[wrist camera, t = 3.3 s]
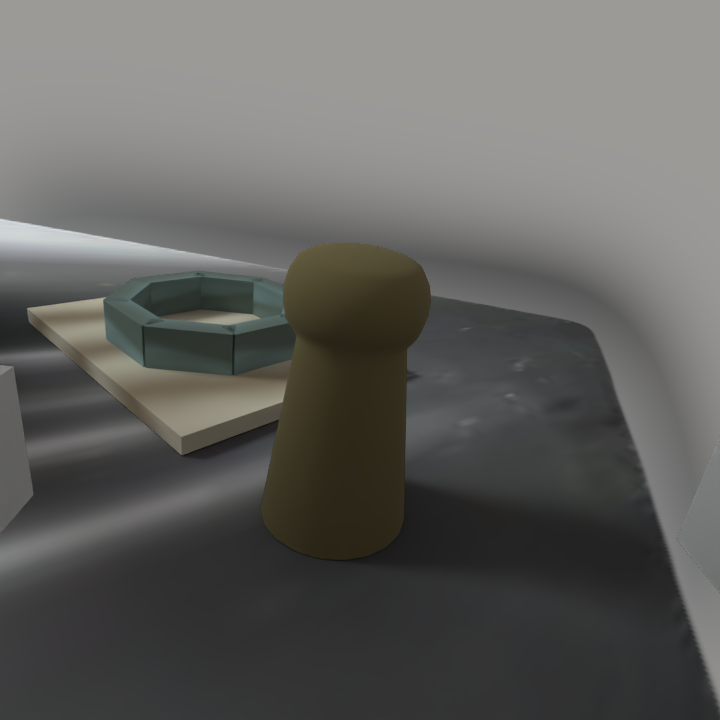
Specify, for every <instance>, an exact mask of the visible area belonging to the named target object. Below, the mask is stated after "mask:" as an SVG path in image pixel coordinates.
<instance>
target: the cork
mask: <svg viewBox="0 0 720 720" xmlns="http://www.w3.org/2000/svg"><path fill="white" fill-rule="evenodd" d="M430 304H431V294H430V285H429V283H428V280H427V278H426V275H425V273H424V270H423V268H422V267H421V266H420V265H419V264H418V263H417V262H416V261H414V260H413V259H412V258H410V257H408V256H406V255H404V254H401V253H398V252H395V251H393V250H389V249H387V248H383V247H379V246H374V245H368V244H359V243H331V244H322V245H316V246H313V247H311V248H309V249H307V250H305V251H303V252H301V253H299V254H298V256H297V257H296V258H295V260H294V261H293V263H292V264H291V265H290V268H289V270H288V273H287V276H286V279H285V283H284V286H283V307H284V311H285V316H286V320H287V321H288V323H289V325H290V326H291V328H292V330H293V331H294V333H295V334H296V336H297V337H296V342H295V346H294V351H293V356H292V361H291V365H290V370H289V375H288V380H287V384H286V389H285V394H284V399H283V403H282V408H281V413H280V418H279V422H278V427H277V432H276V437H275V441H274V446H273V451H272V456H271V461H270V465H269V470H268V475H267V480H266V484H265V489H264V494H263V499H262V503H261V508H260V510H261V514H262V518H263V521H264V525H265V526H266V527H267V528H268V530H269V531H270V532H271V533H272V535H273V536H274V537H275V538H276V539H277V540H278V541H280V542H281V543H283V544H284V545H286V546H288V547H289V548H291V549H292V550H294V551H296V552H299V553H302V554H306V555H309V556H312V557H315V558H319V559H332V560H348V559H354V558H360V557H366V556H369V555H371V554H373V553H375V552H377V551H380V550H382V549H384V548H386V547H387V546H388V545H389V544H390V543H391V542H392V541H393V540H394V539H395V538H396V537H397V536H398V535H399V533H400V530H401V527H402V525H403V522H404V494H405V439H406V385H407V348H409V347H410V346H411V345H412V344H413V343H414V342H415V341H416V340H417V338H418V337H419V335H420V334H421V332H422V330H423V327H424V325H425V323H426V321H427V318H428V315H429V310H430Z"/></svg>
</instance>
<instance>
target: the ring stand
mask: <svg viewBox="0 0 720 720" xmlns="http://www.w3.org/2000/svg"><path fill="white" fill-rule="evenodd" d="M27 312H28V319H29V323H30V324H32V325H33V326H34V327H35V328H36V329H37V330H38V331H40V332H41V333H42V334H43V335H44V336H45V337H46V338H48V339H49V340H50V341H51V342H52V343H53V344H54V345H56V346H57V347H58V348H59V349H60V350H61V351H62V352H64V353H65V354H66V355H67V356H68V357H69V358H70V359H72V360H73V361H74V362H75V363H76V364H77V365H79V366H80V367H81V368H82V369H83V370H84V371H85V372H87V373H88V374H89V375H90V376H91V377H92V378H93V379H95V380H96V381H97V382H98V383H99V384H100V385H101V386H103V387H104V388H105V389H106V390H107V391H108V392H109V393H111V394H112V395H113V396H114V397H115V398H116V399H117V400H119V401H120V402H121V403H122V404H123V405H124V406H125V407H127V408H128V409H129V410H130V411H131V412H132V413H134V414H135V415H136V416H137V417H138V418H139V419H140V420H142V421H143V422H144V423H145V424H146V425H147V426H148V427H150V428H151V429H152V430H153V431H154V432H155V433H156V434H158V435H159V436H160V437H161V438H162V439H163V440H164V441H166V442H167V443H168V444H169V445H170V446H171V447H172V448H174V449H175V450H176V451H177V452H178V453H179V454H180V455H184V454H187V453H190V452H192V451H195V450H198V449H201V448H203V447H206V446H209V445H211V444H214V443H217V442H219V441H222V440H225V439H228V438H230V437H233V436H236V435H238V434H241V433H244V432H246V431H249V430H252V429H254V428H257V427H260V426H263V425H265V424H268V423H271V422H273V421H276V420H279V418H280V413H281V408H282V403H283V399H284V394H285V389H286V384H287V380H288V375H289V370H290V365H291V361H292V356H293V351H294V346H295V342H296V337H297V336H296V334H295V333H294V331H293V330H292V328H291V326H290V325H289V323H288V321H287V320H286V316H285V311H284V307H283V285H281V284H278V283H276V282H273V281H271V280H269V279H266V278H262V277H253V276H243V275H233V274H223V273H214V272H204V271H192V272H183V273H175V274H166V275H157V276H149V277H140V278H134V279H131V280H130V281H128V282H127V283H125V284H124V285H123V286H121V287H120V288H119V289H117V290H116V291H114V292H113V293H112V294H110V295H109V296H108V297H106V298H99V299H91V300H84V301H77V302H69V303H62V304H55V305H47V306H40V307H33V308H27Z"/></svg>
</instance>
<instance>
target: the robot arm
mask: <svg viewBox="0 0 720 720" xmlns="http://www.w3.org/2000/svg"><path fill="white" fill-rule="evenodd" d="M33 495H34V494H33V487H32V481H31V475H30V468H29V462H28V456H27V449H26V443H25V437H24V430H23V424H22V418H21V411H20V405H19V399H18V392H17V386H16V379H15V373H14V367H13V366H4V365H0V534H1V532H2V531H3V530H4V529H5V528H6V527H7V525H8V524H9V523H10V522H11V521H12V520H13V518H14V517H15V516H16V515H17V514H18V512H19V511H20V510H21V509H22V508H23V507H24V505H25V504H26V503H27V502H28V501H29V500H30V498H31V497H32V496H33ZM677 540H678V541H679V542H680V544H681V545H682V546H683V548H684V549H685V550H686V551H687V553H688V554H689V555H690V556H691V557H692V559H693V560H694V561H695V562H696V564H697V565H698V566H699V568H700V569H701V570H702V571H703V573H704V574H705V575H706V576H707V578H708V579H709V580H710V581H711V582H712V584H713V585H714V586H715V588H716V589H717V590H718V591H719V593H720V437H719V439H718V442H717V444H716V447H715V449H714V451H713V454H712V456H711V458H710V461H709V463H708V466H707V468H706V470H705V473H704V475H703V478H702V480H701V482H700V485H699V487H698V490H697V492H696V494H695V497H694V499H693V501H692V504H691V506H690V509H689V511H688V513H687V516H686V518H685V520H684V523H683V526H682V528H681V530H680V532H679V535H678V537H677Z"/></svg>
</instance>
